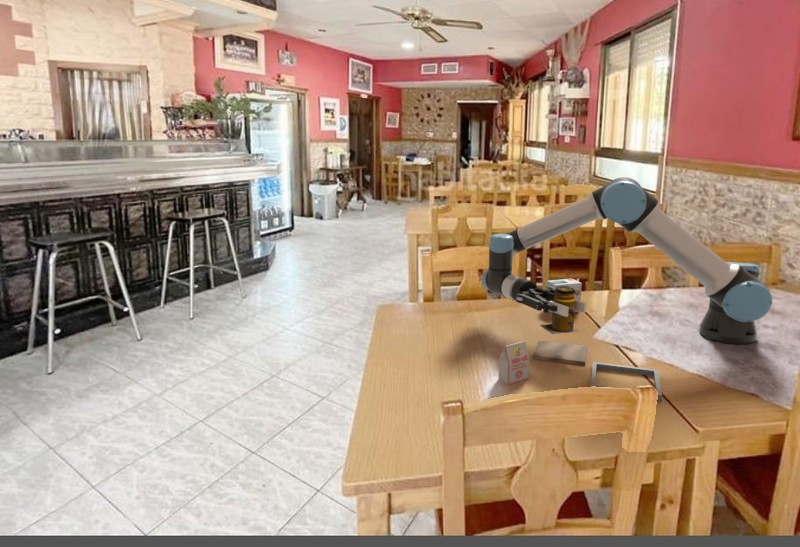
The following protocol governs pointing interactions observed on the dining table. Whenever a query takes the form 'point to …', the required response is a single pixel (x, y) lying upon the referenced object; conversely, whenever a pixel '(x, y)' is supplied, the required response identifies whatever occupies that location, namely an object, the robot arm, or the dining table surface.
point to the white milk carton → (514, 363)
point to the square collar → (627, 370)
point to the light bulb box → (567, 283)
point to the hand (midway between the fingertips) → (576, 309)
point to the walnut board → (560, 352)
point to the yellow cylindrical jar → (558, 321)
